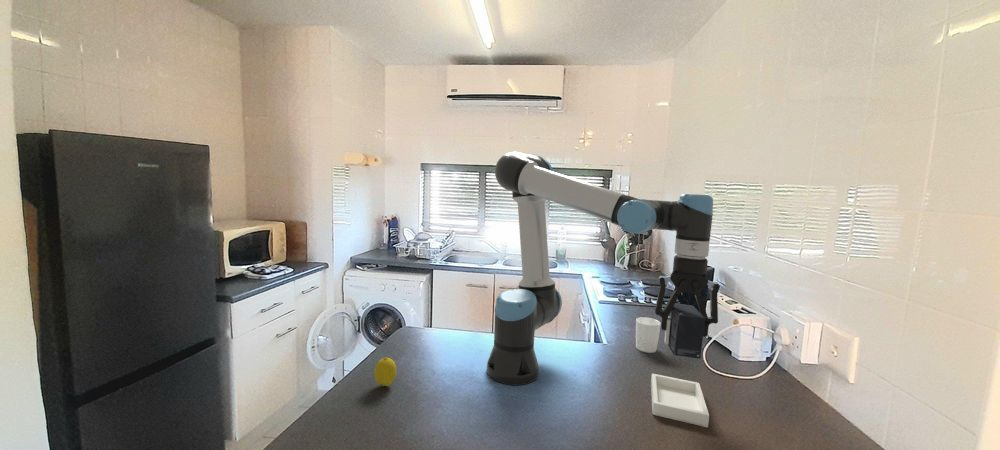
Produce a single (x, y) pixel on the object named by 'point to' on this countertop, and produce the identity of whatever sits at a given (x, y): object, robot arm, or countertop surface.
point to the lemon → (385, 371)
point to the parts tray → (678, 400)
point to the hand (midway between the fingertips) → (682, 345)
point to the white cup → (647, 334)
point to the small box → (686, 331)
